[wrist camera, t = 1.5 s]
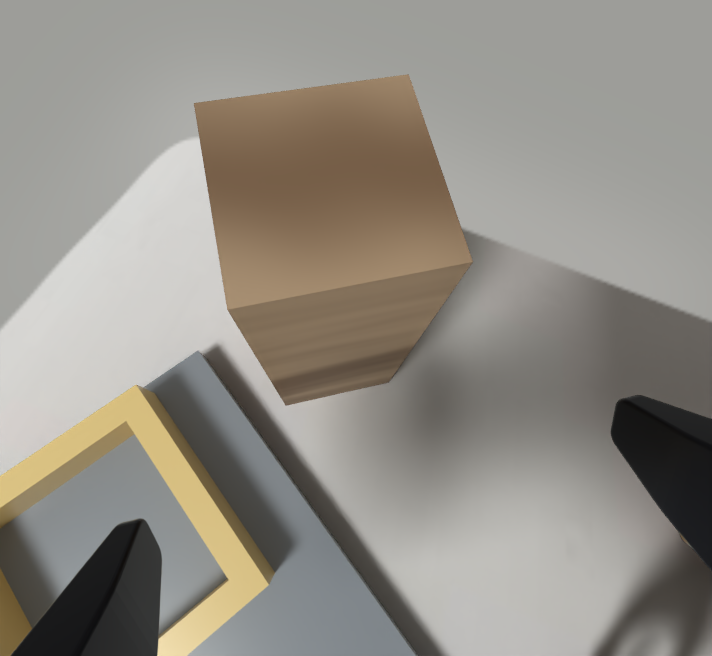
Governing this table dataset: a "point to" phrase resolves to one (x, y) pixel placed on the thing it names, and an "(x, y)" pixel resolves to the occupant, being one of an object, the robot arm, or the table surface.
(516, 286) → the table surface
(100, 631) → the robot arm
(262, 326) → the walnut column
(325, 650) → the base board
